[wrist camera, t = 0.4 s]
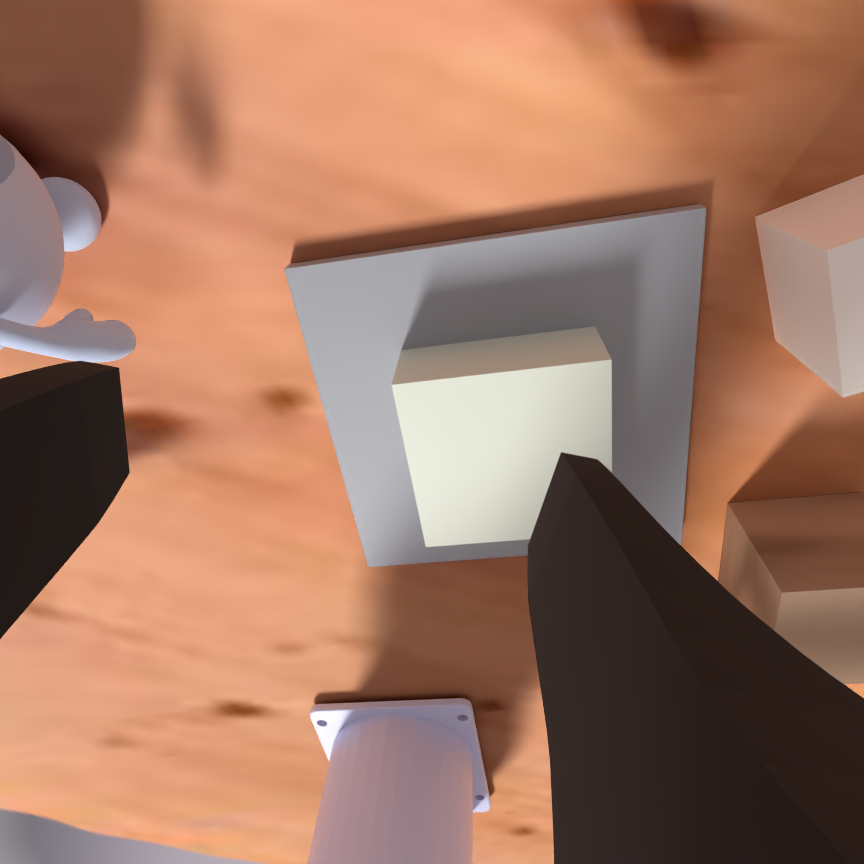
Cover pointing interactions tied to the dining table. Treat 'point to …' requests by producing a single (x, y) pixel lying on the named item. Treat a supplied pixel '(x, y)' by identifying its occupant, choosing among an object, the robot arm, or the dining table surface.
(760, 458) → the dining table surface
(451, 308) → the build board
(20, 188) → the toy figure
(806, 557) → the walnut cube
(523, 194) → the dining table surface
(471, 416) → the foundation brick
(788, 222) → the cream block
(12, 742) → the dining table surface
